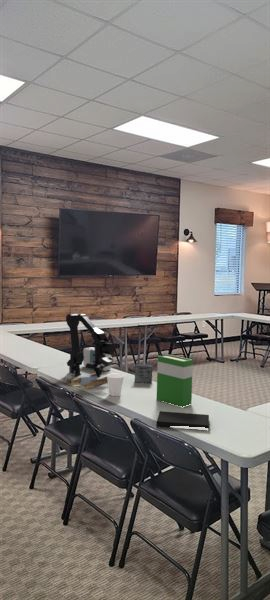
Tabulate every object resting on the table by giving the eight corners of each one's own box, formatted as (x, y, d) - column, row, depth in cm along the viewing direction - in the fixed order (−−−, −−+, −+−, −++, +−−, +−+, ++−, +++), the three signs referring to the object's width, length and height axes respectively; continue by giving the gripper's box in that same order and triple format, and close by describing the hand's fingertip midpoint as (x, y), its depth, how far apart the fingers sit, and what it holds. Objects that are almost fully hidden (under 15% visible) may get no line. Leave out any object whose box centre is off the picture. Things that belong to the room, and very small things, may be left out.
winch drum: (64, 382, 270) (65, 369, 269) (69, 380, 273) (70, 368, 273) (72, 384, 266) (72, 371, 266) (77, 382, 270) (77, 370, 269)
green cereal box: (156, 400, 239) (157, 355, 237) (165, 397, 244) (166, 354, 243) (182, 408, 227) (183, 361, 225) (191, 405, 232) (192, 359, 230)
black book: (159, 417, 214) (159, 410, 214) (208, 420, 210) (208, 414, 210) (156, 427, 200) (156, 421, 200) (208, 432, 196) (209, 425, 196)
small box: (152, 381, 278) (152, 364, 277) (151, 383, 271) (152, 366, 271) (135, 380, 279) (135, 363, 278) (134, 383, 272) (134, 366, 272)
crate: (80, 384, 267) (80, 376, 266) (88, 382, 272) (88, 374, 272) (89, 386, 263) (90, 378, 262) (97, 384, 269) (97, 376, 268)
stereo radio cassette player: (82, 366, 311) (83, 338, 310) (91, 364, 318) (91, 337, 316) (104, 372, 298) (104, 342, 296) (112, 370, 304) (113, 341, 302)
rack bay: (69, 385, 264) (69, 380, 263) (96, 376, 284) (96, 372, 284) (86, 389, 256) (86, 384, 256) (113, 380, 277) (113, 375, 277)
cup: (126, 394, 249) (127, 374, 248) (118, 398, 240) (119, 378, 239) (111, 391, 253) (111, 372, 252) (102, 396, 244) (103, 376, 243)
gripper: (99, 356, 262) (99, 382, 263) (118, 352, 277) (118, 376, 279) (85, 354, 268) (85, 379, 270) (104, 349, 284) (104, 373, 285)
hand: (98, 377), depth 275 cm, fingers closed
